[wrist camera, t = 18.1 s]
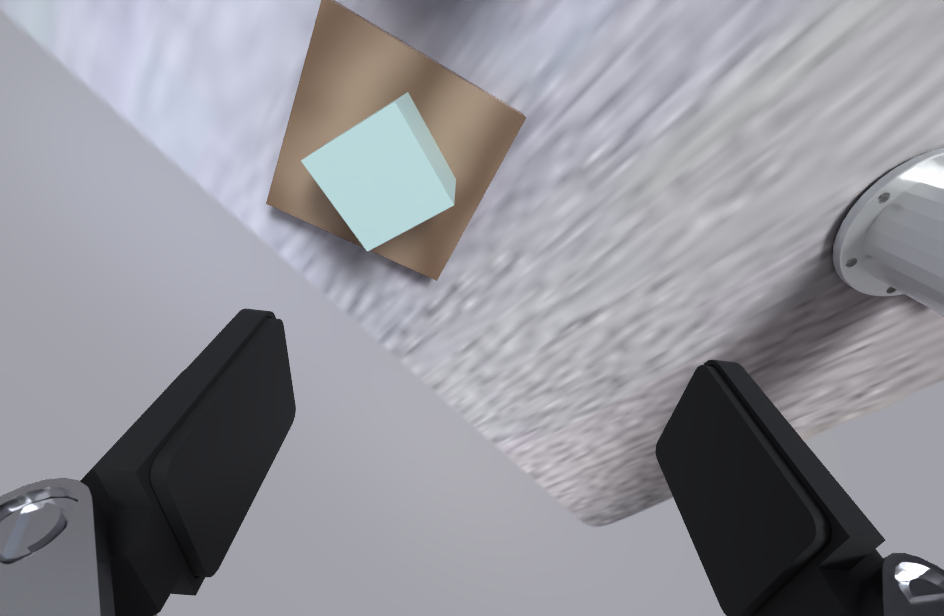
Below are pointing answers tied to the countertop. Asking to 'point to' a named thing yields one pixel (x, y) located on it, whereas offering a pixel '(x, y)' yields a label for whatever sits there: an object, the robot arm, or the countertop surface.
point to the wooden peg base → (365, 92)
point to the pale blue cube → (384, 173)
